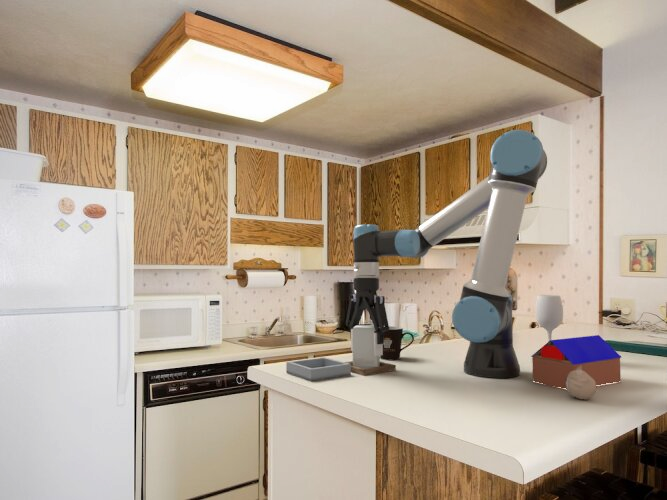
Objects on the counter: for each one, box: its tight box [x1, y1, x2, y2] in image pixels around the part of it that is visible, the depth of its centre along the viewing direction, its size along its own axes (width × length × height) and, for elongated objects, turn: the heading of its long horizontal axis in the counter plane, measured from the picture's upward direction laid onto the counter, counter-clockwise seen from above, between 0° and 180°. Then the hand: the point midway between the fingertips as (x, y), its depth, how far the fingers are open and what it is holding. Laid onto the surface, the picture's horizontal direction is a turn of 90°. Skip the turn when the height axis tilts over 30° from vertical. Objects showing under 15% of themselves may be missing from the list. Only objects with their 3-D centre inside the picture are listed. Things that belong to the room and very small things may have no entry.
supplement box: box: [352, 324, 381, 369], centre depth 138 cm, size 7×7×13 cm
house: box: [530, 334, 622, 389], centre depth 122 cm, size 12×20×12 cm, turn 119°
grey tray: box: [285, 356, 352, 382], centre depth 132 cm, size 13×13×3 cm
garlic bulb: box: [565, 365, 597, 400], centre depth 106 cm, size 7×6×8 cm
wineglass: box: [534, 294, 564, 343], centre depth 151 cm, size 9×9×21 cm
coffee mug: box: [380, 325, 415, 361], centre depth 155 cm, size 12×9×10 cm
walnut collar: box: [344, 360, 397, 376], centre depth 138 cm, size 12×12×2 cm
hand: (366, 352), depth 138 cm, fingers closed on supplement box, 10 cm apart
